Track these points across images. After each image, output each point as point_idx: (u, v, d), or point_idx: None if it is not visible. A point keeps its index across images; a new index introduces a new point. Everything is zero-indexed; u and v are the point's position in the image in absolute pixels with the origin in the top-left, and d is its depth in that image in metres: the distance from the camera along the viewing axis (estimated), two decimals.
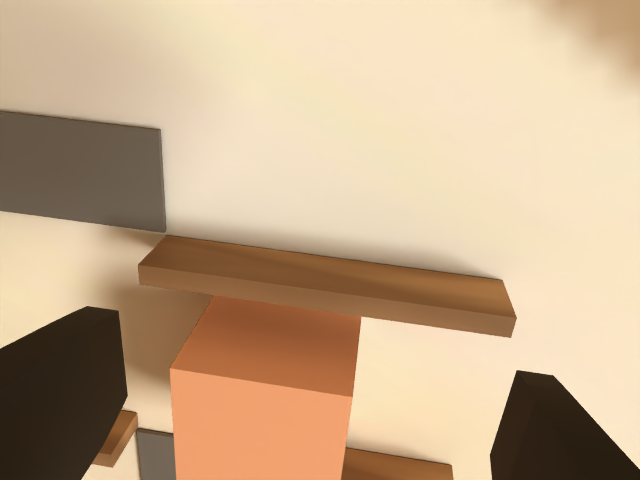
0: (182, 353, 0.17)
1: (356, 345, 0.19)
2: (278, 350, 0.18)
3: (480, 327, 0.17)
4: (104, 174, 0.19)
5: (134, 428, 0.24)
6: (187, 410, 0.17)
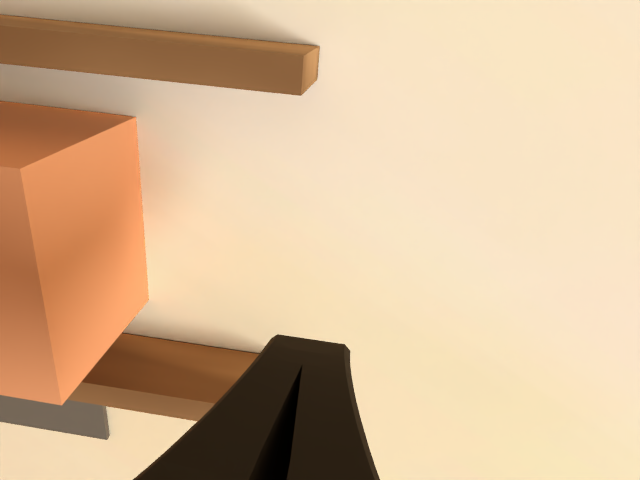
0: None
1: (91, 135, 0.12)
2: None
3: (252, 79, 0.11)
4: None
5: None
6: None
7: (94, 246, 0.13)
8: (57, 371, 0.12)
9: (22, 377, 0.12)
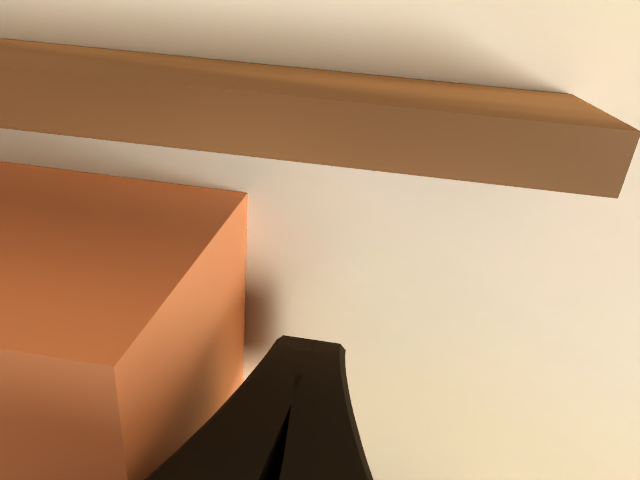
0: None
1: (201, 247, 0.07)
2: None
3: (532, 169, 0.06)
4: None
5: None
6: None
7: (197, 413, 0.08)
8: None
9: None
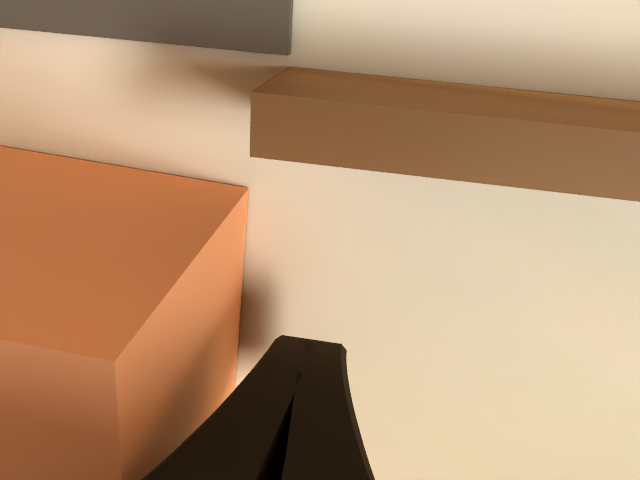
0: None
1: (202, 241, 0.07)
2: None
3: None
4: None
5: None
6: None
7: (191, 410, 0.08)
8: None
9: None
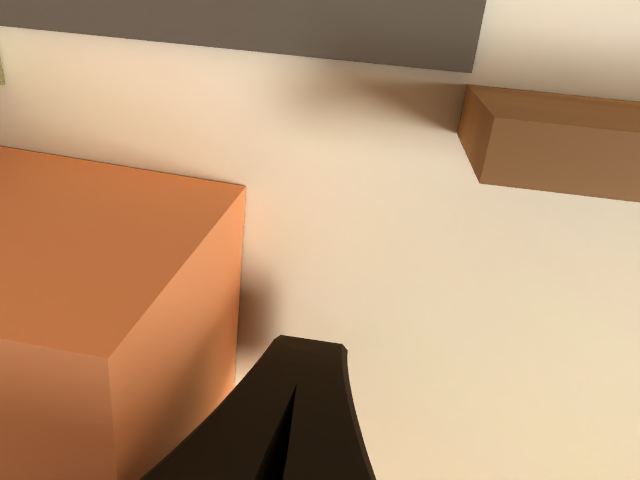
0: None
1: (198, 239, 0.07)
2: None
3: None
4: None
5: None
6: None
7: (187, 408, 0.08)
8: None
9: None
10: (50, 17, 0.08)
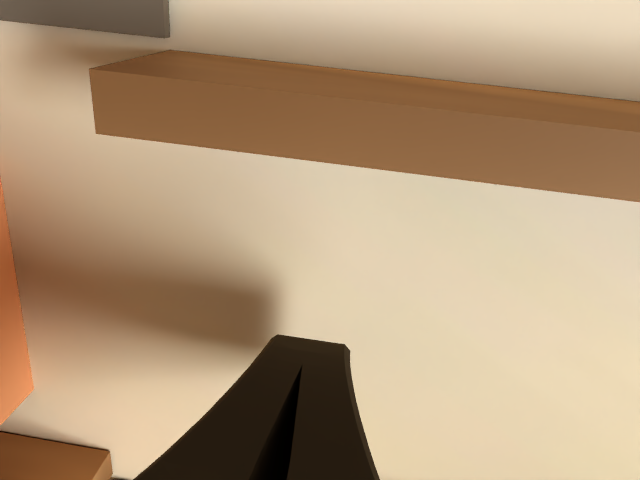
0: None
1: None
2: None
3: None
4: None
5: None
6: None
7: None
8: None
9: None
10: None
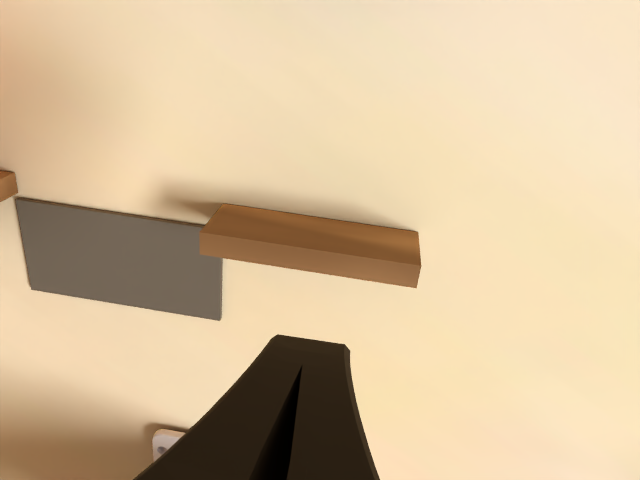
0: None
1: None
2: None
3: None
4: None
5: (10, 191, 0.19)
6: None
7: None
8: None
9: None
10: None
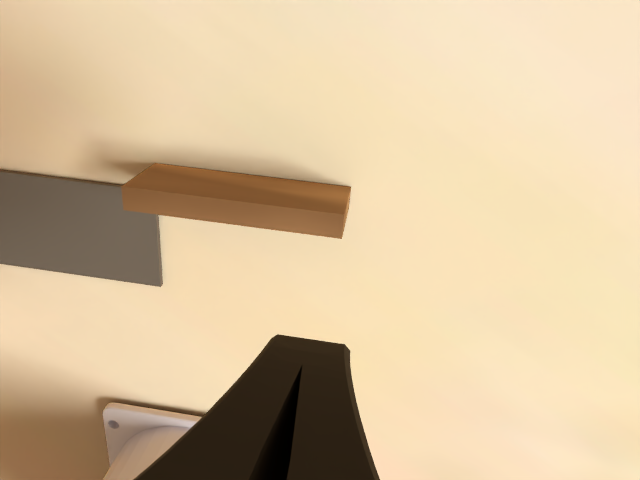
0: None
1: None
2: None
3: None
4: None
5: None
6: None
7: None
8: None
9: None
10: None
